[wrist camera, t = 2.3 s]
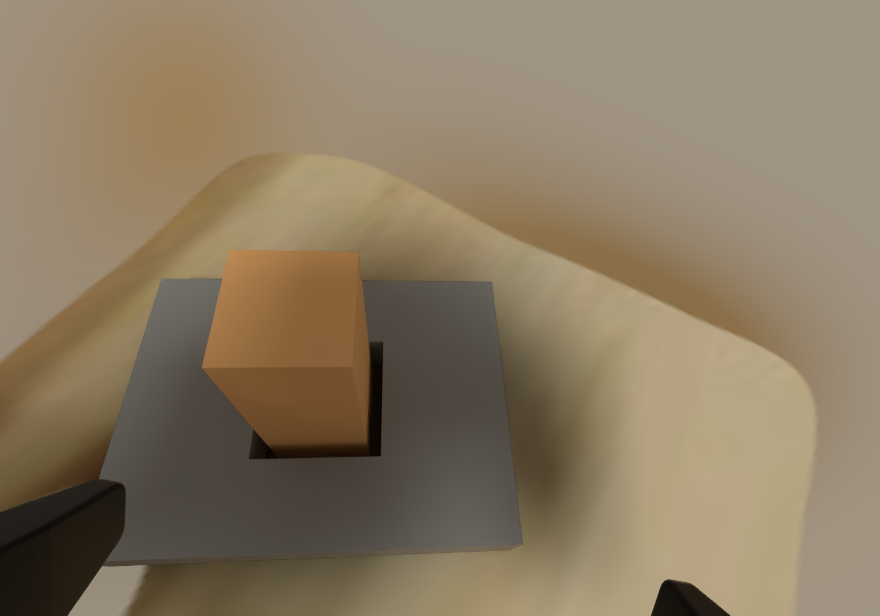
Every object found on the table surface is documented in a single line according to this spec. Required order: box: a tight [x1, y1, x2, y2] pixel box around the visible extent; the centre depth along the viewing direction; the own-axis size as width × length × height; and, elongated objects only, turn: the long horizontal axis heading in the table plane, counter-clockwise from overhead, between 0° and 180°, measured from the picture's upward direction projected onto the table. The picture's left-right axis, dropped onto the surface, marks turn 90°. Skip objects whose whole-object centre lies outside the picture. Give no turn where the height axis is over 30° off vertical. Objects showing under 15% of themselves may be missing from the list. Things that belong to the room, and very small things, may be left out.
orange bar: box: [202, 250, 372, 459], centre depth 18 cm, size 4×4×10 cm
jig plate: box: [99, 279, 523, 566], centre depth 21 cm, size 12×16×2 cm
